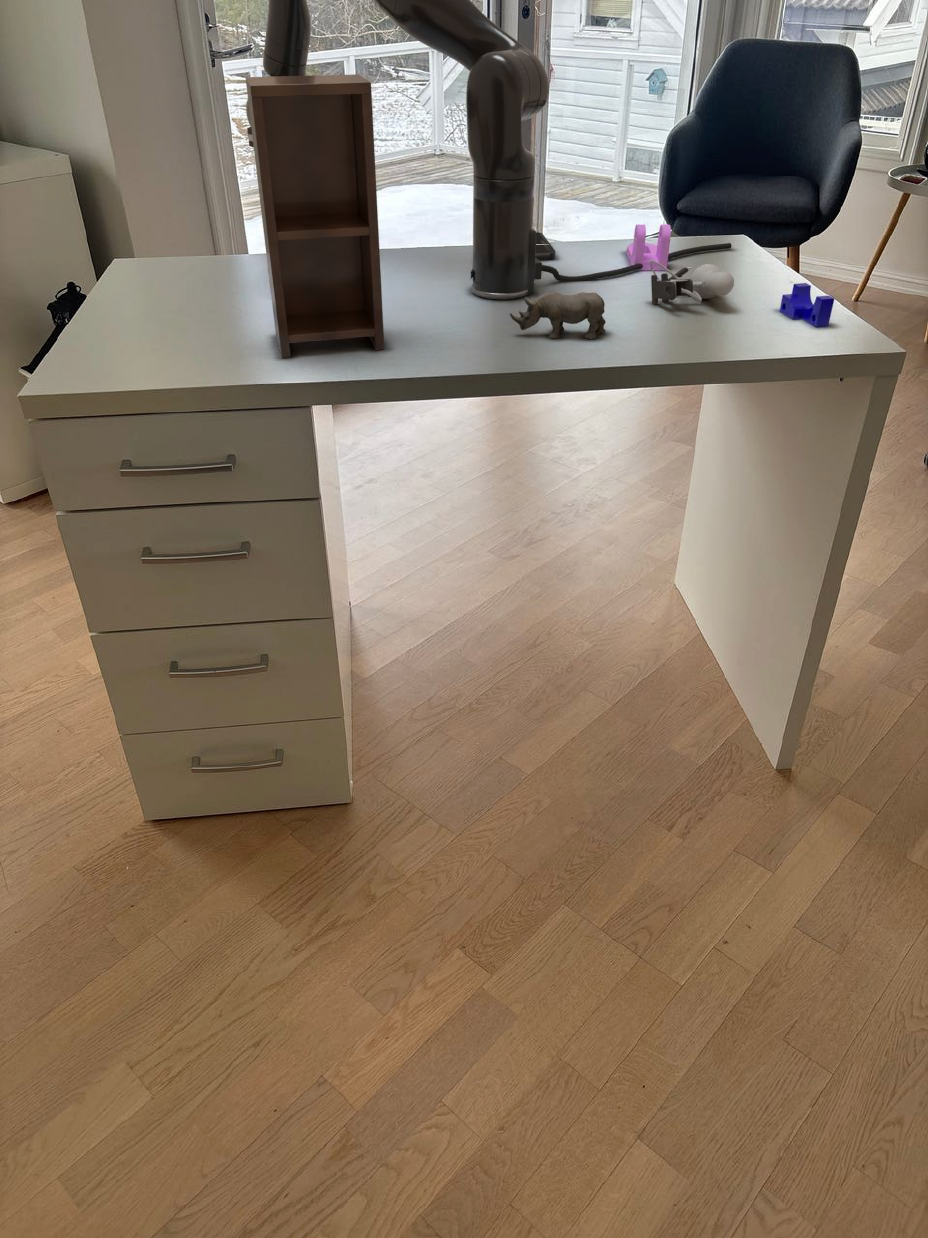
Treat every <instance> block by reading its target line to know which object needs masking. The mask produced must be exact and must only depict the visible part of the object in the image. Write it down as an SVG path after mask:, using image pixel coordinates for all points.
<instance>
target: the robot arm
mask: <svg viewBox="0 0 928 1238" xmlns="http://www.w3.org/2000/svg"><path fill="white" fill-rule="evenodd" d="M307 1H308V0H268V5H267V7H268V9H267V20H266V29H265V38H264V46H263V47H264V48H263V54H262V55H263V56H262V67H263V70H264V71H265V73H266V74H267V75H268V77H275V76H307V64H308V57H309V50H310V43H311V35H312V19H311V13H310V9H309V4H308V2H307ZM373 1H374V3H375V4H376V5H377V6H378V8H379V9H380V10H381V11H382V12H383V13H384V14H385V15H386V16H387V17H388V18H389V19H390V20H391V21H392V22H393V23H394V24H395V25H396V26H398V27H399V29H401V30H402V31H403V32H404V33H406V34H407V35H408V36H410V37H411V38H413V39H415V40H416V41H418V42H420V43H421V44H422V45H425V46H427V47H428V48H431V49H432V50H435V51H437V52H439V53H441V54H443V55H444V56H447V57H449V58H450V59H452V60H454V61H455V62H457V63H459V64H460V65H462V66H463V67H464V68H465V69H466V70H467V71H469V73H468V77H467V82H466V93H465V94H466V95H465V106H466V108H465V109H466V111H465V112H466V131H467V133H466V135H467V149H468V153H469V157H470V159H471V162H472V168H473V169H472V170H473V171H472V173H473V175H472V179H473V180H472V181H473V183H472V269H471V270H470V280H472V284H471V292H472V293H473V294H474V295H475V296H478V297H480V298H481V297H482V298H486V299H491V300H493V299H494V300H514V299H519V298H523V297H527V296H529V295H534V294H535V280H542V275H543V272H544V273H549V274H552V275H553V278H554V280H556V281H557V282H563V283H572V282H573V283H574V282H589V281H592V280H599V279H604V278H611V277H615V276H616V277H617V276H621V275H624V274H629V273H631V272H635V271H639V270H638V269H641V268H643V265H642V264H640V263H639V264H635V265H631V264H630V265H629V266H625V267H621V268H616V269H613V270H606V271H600V272H595V273H589V274H584V275H575V276H573V275H570V276H568V275H563V274H560V273H559V271H558V269H557V268H555V267H553V266H551V265H546V264H543V262H541V260H538V259H537V258H536V257H535V256H536V232H537V231H536V229H534V228H533V224H534V223H533V222H534V202H535V201H534V200H535V176H536V158H535V155H534V154H533V153H532V152H531V151H530V150H528V149H526V148H525V145H524V143H523V123H522V122H523V121H526V120H528V119H531V118H533V117H535V116H536V115H538V114H539V113H541V111H543V109H544V108H545V106H546V104H547V102H548V99H549V94H550V81H549V77H548V73H547V70H546V68H545V66H544V65H543V63H542V61H541V60H540V58H538V56H537V55H536V54H535V53H534V52H533V51H531V50H530V49H529V48H527V47H526V46H525V45H524V44H522V43H521V42H519V41H518V40H516V39H515V38H514V37H513V36H511V35H510V34H509V33H507V32H506V31H504V30H503V29H502V28H501V27H500V26H498V25H497V24H496V23H494V21H492V20H490V18H489V17H487V16H486V15H485V14H484V13H483V12H482V10H480V9H479V8H478V7H477V6H476V5H475V3H473V2H472V1H471V0H373ZM245 114H246V118H247V122H248V125H249V127H247V128H246V131H247V138H248V147H251V148H254V145H253V137H252V129H251V120H250V112H249V103H248V98H247V99H246V105H245ZM731 248H732V243H731V242H726V243H717V244H716V243H715V244H709V245H701V246H693V247H689V248H684V249H680V250H676V251H673V252H669V254H668V260H671V259H675V258H678V257H681V256H685V255H691V254H697V253H702V252H710V251H719V250H720V251H721V250H729V249H731Z"/></svg>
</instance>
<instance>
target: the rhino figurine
mask: <svg viewBox="0 0 928 1238" xmlns="http://www.w3.org/2000/svg"><path fill="white" fill-rule="evenodd" d="M524 302H525V304H526V305H527V309H526V311H525V312H523V311H520V310H519V311H518V314H519V315H520V316H517V315H516V316H515V315H514V314H513V313H511V312H509V315H510V318H511V319H512V321H514V322H515V323H517V324H518V325H519V328H520V330H521V331H525V330H527V329H529V328H531V327H534V326H535V325H536V324H537V323H538V322H540V319H541V318H543V319H548V320H549V321H550V325H551V327H552V328H551V329H552V331H551V333H550V334H549V339H553V340H555V339H558V338H559V337H560V336H561V335H560V334H561V333H563V332H564V331H565V327H564V323H565V324H569V325H574V324H575V325H576V324H579V323H582V322H583V321H585V320H587V322H588V324H589V325H588V330H587V332H586V333H585V334H584V339H587V340H588V339H589V340H592V339H595V338H596V337H597V335H602V334H603V335H604V334H605V333H606V330H605V324H606V321H607V320H606V319H605V318H604V317H603V315H604V313H605V311H606V310H605V306H606V305H605V301H604V299H603V297H602V296H601V295H600V294H598V293H597V292H585V291H581V292H578V293H575V294H569V295H568V294H563V293H561V292H558V291H549V292H546V293H543V294H542V295H541V296H538V297H537V298H535V299H533V300H531V299H530V298H528V297H527V296H524Z"/></svg>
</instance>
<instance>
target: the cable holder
mask: <svg viewBox="0 0 928 1238" xmlns="http://www.w3.org/2000/svg"><path fill="white" fill-rule="evenodd" d="M811 288H812V285H810V284H808V283H807V282H801V283H798V282H797V283H793V286H792V291H791V293H786V294H782V295H781V301H780V306H779V312H780V313H781V314H783V315H784V316H786V317H787V318H790V319H791V320H803V321H805V322H806V323H808V324H809V325H811V326H813V327H815V328H825V327H829V325H830V321H831V316H832V311H833V307H834V302H835V298H834V297H832V296H831V295H818V296H816V297H815V300H814V302H813V300H812V296H811V290H812V289H811Z"/></svg>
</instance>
